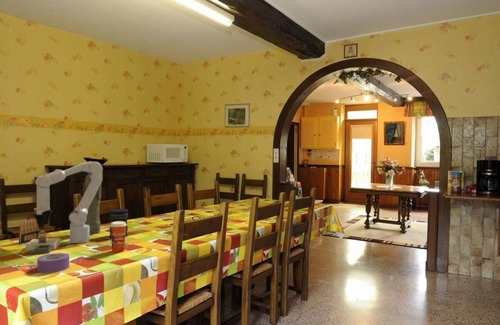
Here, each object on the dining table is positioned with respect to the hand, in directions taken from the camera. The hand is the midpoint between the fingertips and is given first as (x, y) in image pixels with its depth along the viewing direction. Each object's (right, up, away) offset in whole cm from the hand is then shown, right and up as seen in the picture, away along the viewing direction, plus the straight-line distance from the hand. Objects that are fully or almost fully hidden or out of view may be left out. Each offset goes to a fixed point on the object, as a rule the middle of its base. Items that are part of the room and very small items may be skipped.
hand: (43, 226), depth 182 cm
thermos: (+11, -10, +33) cm, 36 cm away
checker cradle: (+4, -11, -9) cm, 14 cm away
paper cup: (+40, -11, -5) cm, 42 cm away
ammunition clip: (-13, -10, +10) cm, 19 cm away
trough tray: (+1, -10, -1) cm, 10 cm away
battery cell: (+1, -9, -3) cm, 10 cm away
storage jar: (+29, -10, +26) cm, 40 cm away
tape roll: (+23, -12, -32) cm, 41 cm away
